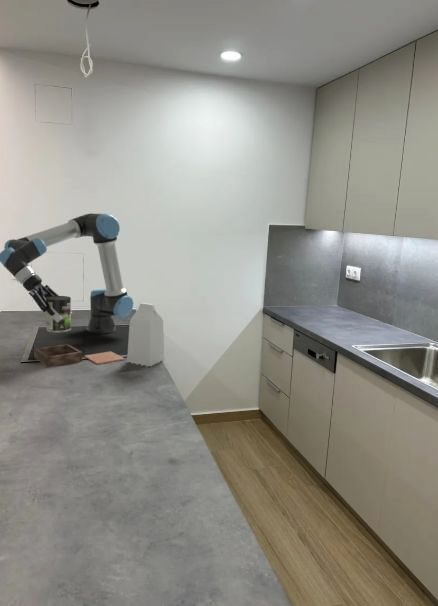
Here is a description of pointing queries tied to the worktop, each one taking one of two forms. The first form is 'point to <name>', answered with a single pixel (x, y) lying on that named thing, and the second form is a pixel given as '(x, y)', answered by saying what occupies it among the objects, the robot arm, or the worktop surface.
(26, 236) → the robot arm
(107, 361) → the tile
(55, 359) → the tray
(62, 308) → the coffee can
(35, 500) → the worktop surface
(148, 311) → the milk
